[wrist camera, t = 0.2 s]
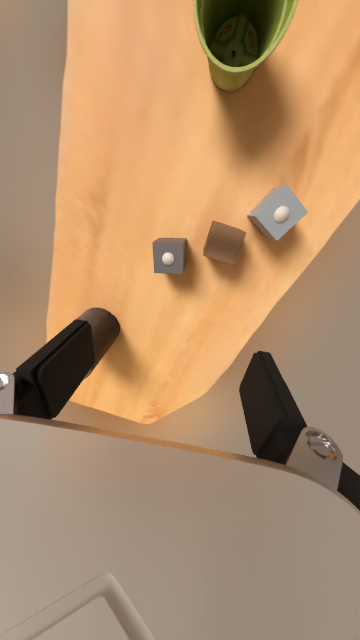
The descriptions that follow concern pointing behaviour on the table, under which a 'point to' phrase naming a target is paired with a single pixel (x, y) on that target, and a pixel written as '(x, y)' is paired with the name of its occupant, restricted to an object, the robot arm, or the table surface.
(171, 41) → the table surface
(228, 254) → the walnut block
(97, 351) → the pillar candle
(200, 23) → the plant pot
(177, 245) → the charcoal block
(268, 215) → the slate block
